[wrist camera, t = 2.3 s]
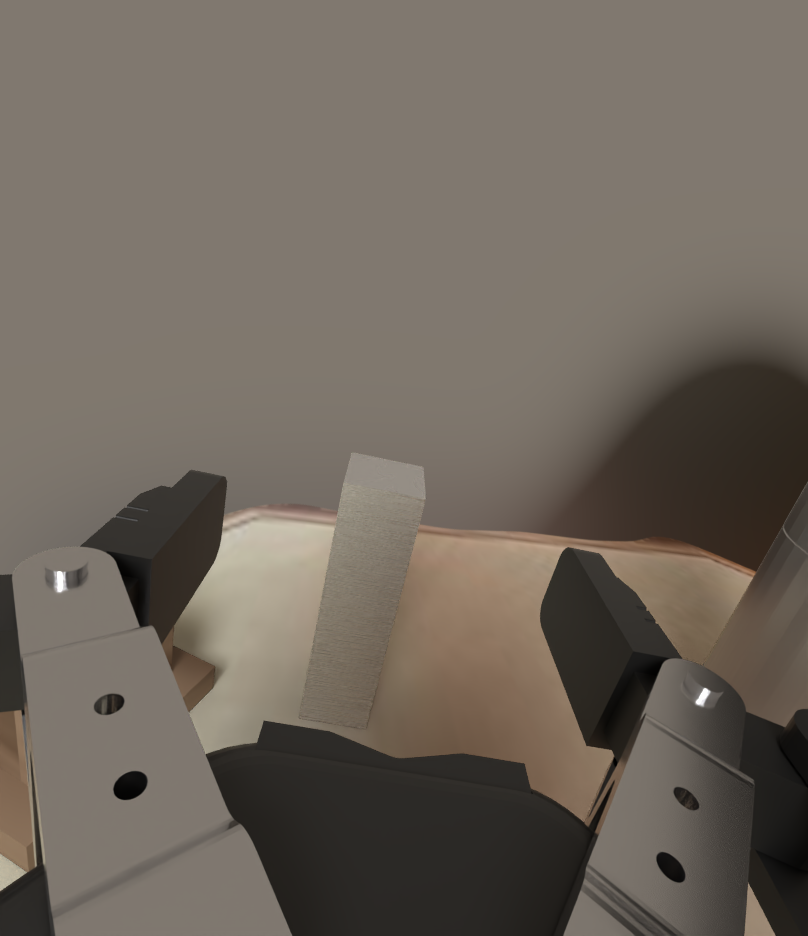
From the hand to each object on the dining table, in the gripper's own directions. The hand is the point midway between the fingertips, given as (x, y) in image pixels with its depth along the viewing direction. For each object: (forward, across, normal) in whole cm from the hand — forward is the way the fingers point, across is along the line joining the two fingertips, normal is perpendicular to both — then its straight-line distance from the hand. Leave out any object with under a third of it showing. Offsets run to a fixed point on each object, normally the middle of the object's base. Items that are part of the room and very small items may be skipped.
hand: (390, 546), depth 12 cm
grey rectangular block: (+12, 0, +17) cm, 21 cm away
